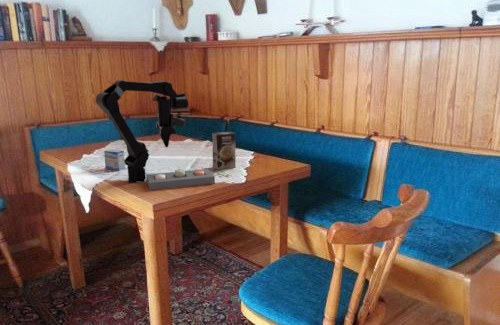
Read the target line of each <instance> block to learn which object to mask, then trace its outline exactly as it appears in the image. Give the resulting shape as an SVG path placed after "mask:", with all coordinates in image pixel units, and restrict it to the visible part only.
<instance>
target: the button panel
mask: <svg viewBox="0 0 500 325" xmlns="http://www.w3.org/2000/svg"><path fill="white" fill-rule="evenodd" d="M195 171H204V175H199V176H195ZM158 174H164V175H165V179H157V180H155V175H158ZM145 176H146V184H147V187H148V189H149V191H155V190H164V189H165V190H166V189H176V188H183V187H184V188H185V187H195V186H201V185H202V186H203V185H204V186H206V185H214V184H215V183H216V181H215V180H216V179H215V177H216V176H215V175H214V174H213V173H212V171H210V169H209V168H205V169H203V168H202V169H192V170H185V177H178V178H175V171H170V172H159V173H149V174H145Z"/></svg>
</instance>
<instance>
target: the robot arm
mask: <svg viewBox="0 0 500 325" xmlns="http://www.w3.org/2000/svg"><path fill="white" fill-rule="evenodd" d="M126 91H128V92H129V91H131V92H149V93H151V94H155V96H154V97H152V99H151V100H152V101H153V102H157V105H156V106H157V118H158V121H156V123H155V126H156V127H155V128H156V129H159V130H157V132H158V134H159V136H160V138H161V140H162V142H163V144H164V147H165V148H168V147H169V144H170V139H171V136H172V135H174V134H176V133H177V129H176V127H174V126H178V127H180V128H183V129H184V127H185V124H186V120H185V118H182V116H181V115H179V114H177V115H175V116H174V114H173V113H172V111H173V110H174V111H177V110H186V109H188V107H189V100H188V98H187V97H186V94H185V93H181V92H180V93H177V92H176V91H175V90H174V88H173V84H171V82H170V81H165V80H155V81H148V82H143V81H128V80H123V79H117V80H116V81H115V82H114V83H112V84H111V85H110V86H108V87H107V88H106V89H105V90H103V91H102V92H99V93H98V94H97V95H96V97H95V103H96V105H97V106H98V107H99V109H101V111H103V112H104V113H105V114H106V115H107V116H108V117H109V119H110V121H111V122H112V124H113V126H114V127H115V129H116V130H117V132H118V133H119V136H120V137H121V138H122V140H123V142H124V144H125V145H126V151H127V154H128V155H127V156H126V157H125V158H124V159H125V160H124V162H125V166H126V167H127V174H128V175H127V180H128V181H127V182H128V184H130V183H131V184H133V183H142V182H146V180H147V176H146V169H145V168H146V165H147V161H148V160H149V158H150V155H149V154H150V153H149V152H150V150H148V149H147V146H146V144H145V143H144V142H141V141H140V140H139V141H138V140H137V139H136V137H135V134H133V132H132V130H131V128H130V127H129V125H128V123H127V121H125V118H124V117H123V115H122V113H121V112H120V104H119V100H120V99H121V98H122V96H123V94H124V93H125V92H126ZM161 95H162V96H161Z"/></svg>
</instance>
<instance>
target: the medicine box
mask: <svg viewBox="0 0 500 325" xmlns="http://www.w3.org/2000/svg"><path fill="white" fill-rule="evenodd" d="M103 156H104V166H105V170H108V169H110V170H109V171H117V170H118V172H119V171H122V170H125V169H126V165H125V162H124V160H125V159H126V158H125V150H120V149H119V150H118V149H106V150H104V152H103Z"/></svg>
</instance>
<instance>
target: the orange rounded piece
mask: <svg viewBox="0 0 500 325" xmlns="http://www.w3.org/2000/svg"><path fill="white" fill-rule="evenodd" d="M199 175H204V171H195V176H199Z"/></svg>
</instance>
